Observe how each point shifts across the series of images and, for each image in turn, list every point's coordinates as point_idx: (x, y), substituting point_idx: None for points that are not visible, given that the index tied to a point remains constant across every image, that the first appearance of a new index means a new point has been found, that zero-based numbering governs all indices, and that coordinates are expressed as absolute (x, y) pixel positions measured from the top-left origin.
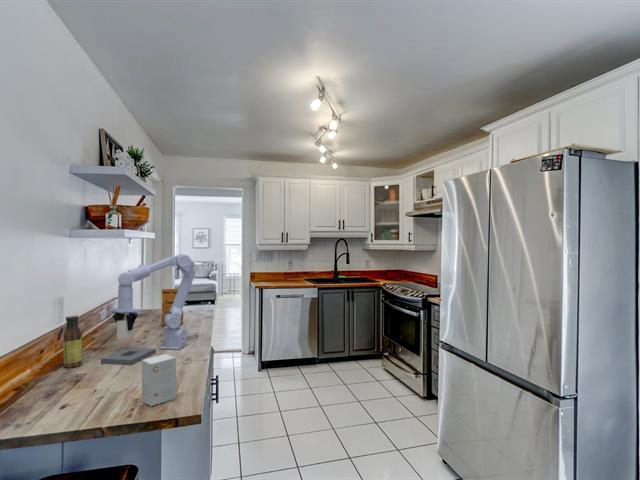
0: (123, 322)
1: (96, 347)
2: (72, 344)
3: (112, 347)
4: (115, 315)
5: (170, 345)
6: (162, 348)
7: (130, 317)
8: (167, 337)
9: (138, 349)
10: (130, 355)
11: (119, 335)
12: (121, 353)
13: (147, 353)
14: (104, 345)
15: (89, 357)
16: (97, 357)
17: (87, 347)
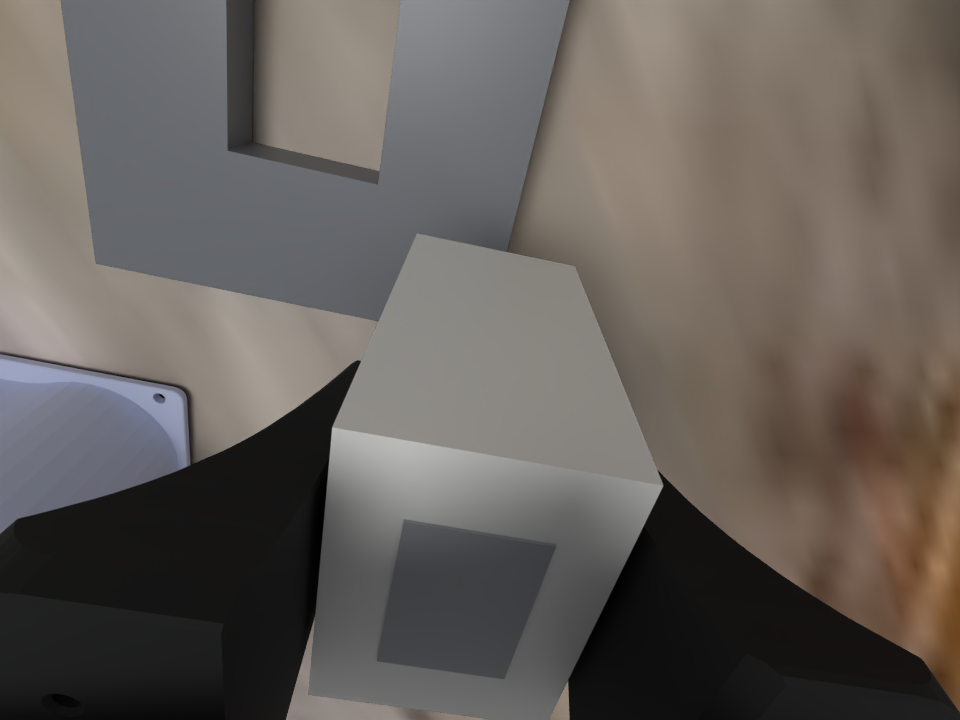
0: (414, 412)
1: (860, 480)
2: None
3: (702, 469)
4: (831, 717)
5: (43, 395)
6: (153, 384)
7: (26, 520)
8: (8, 456)
9: (296, 245)
10: (373, 171)
11: (531, 280)
12: (425, 62)
13: (79, 77)
14: (798, 528)
15: (854, 135)
16: (754, 127)
17: (948, 487)
